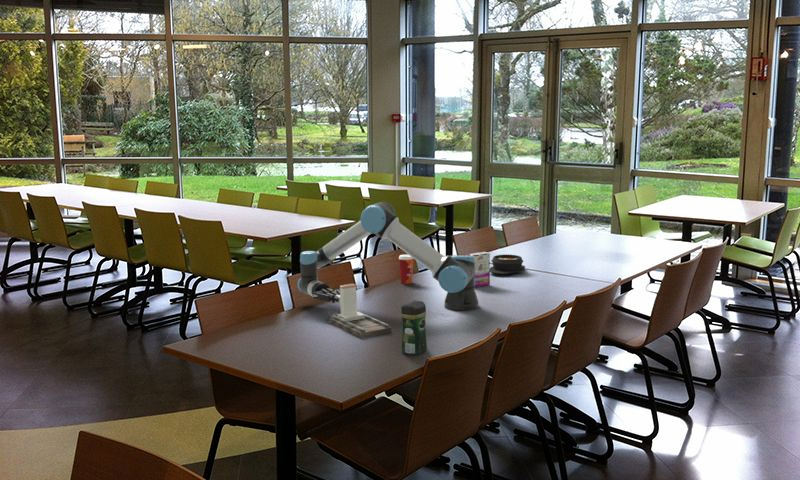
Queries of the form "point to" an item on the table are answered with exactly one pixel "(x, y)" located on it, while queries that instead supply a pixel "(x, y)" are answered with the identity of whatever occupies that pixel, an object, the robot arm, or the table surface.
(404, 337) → the coffee jar
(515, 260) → the casserole
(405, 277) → the paper cup
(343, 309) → the post
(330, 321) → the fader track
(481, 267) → the candy bar box
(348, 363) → the table surface
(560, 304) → the table surface
